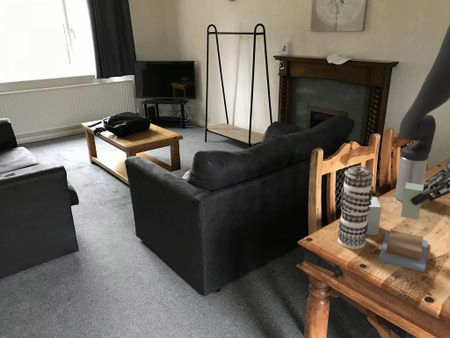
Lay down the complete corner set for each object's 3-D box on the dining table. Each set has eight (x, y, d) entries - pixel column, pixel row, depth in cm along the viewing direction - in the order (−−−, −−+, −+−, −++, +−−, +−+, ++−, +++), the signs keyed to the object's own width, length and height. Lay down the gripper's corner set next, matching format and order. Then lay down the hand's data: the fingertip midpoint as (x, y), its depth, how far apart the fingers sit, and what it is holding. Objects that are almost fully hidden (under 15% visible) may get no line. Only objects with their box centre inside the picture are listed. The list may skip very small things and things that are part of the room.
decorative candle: (373, 243, 115) (382, 170, 106) (353, 253, 110) (361, 177, 101) (350, 231, 122) (357, 161, 113) (330, 239, 118) (336, 168, 109)
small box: (378, 236, 119) (381, 207, 115) (360, 234, 120) (363, 206, 116) (373, 223, 126) (377, 196, 122) (356, 222, 127) (359, 195, 123)
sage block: (402, 210, 109) (406, 182, 106) (419, 213, 107) (423, 185, 104) (400, 216, 106) (405, 188, 102) (418, 219, 103) (423, 190, 100)
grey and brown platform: (385, 234, 119) (387, 224, 118) (427, 243, 114) (429, 232, 112) (378, 260, 106) (380, 249, 105) (424, 272, 101) (427, 260, 99)
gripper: (460, 147, 101) (406, 180, 111) (462, 163, 89) (402, 198, 99) (479, 167, 100) (423, 199, 110) (484, 186, 88) (420, 220, 98)
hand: (413, 199), depth 104 cm, fingers closed on sage block, 4 cm apart
